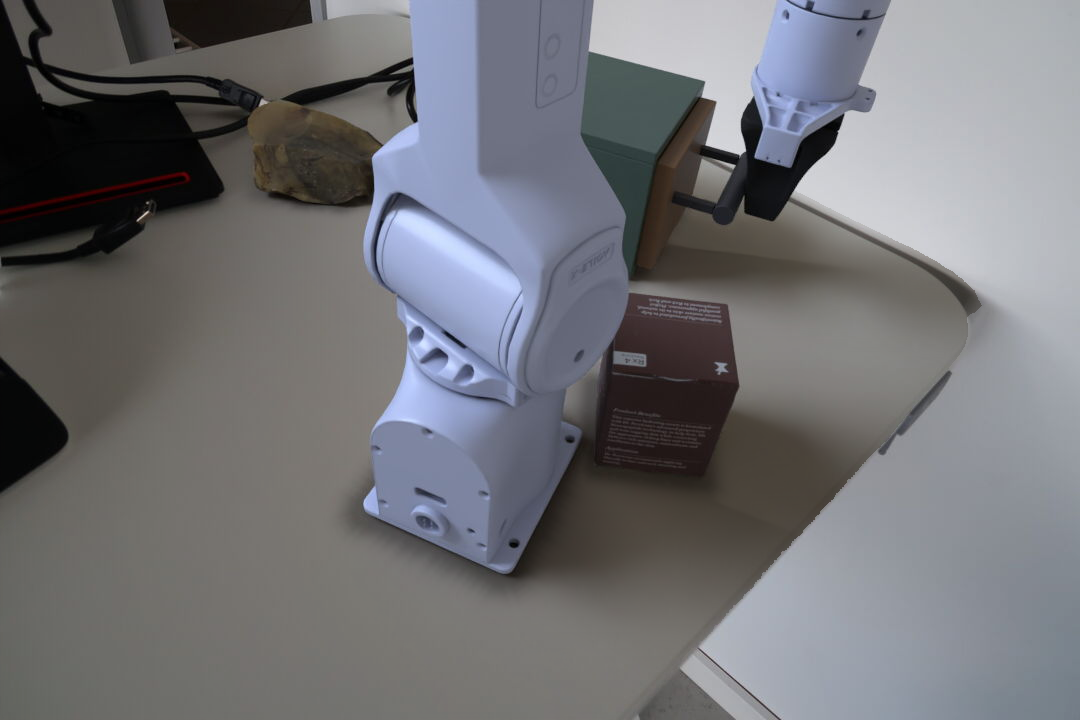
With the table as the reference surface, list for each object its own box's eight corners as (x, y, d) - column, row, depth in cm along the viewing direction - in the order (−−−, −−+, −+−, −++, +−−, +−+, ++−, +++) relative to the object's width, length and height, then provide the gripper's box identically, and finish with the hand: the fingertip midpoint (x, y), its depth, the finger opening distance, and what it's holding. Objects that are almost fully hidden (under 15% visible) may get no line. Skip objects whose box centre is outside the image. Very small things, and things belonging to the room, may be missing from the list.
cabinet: (676, 199, 58) (705, 80, 51) (629, 280, 50) (656, 153, 43) (520, 152, 61) (528, 35, 54) (453, 222, 53) (452, 95, 47)
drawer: (743, 212, 56) (775, 116, 50) (710, 289, 49) (742, 187, 43) (543, 153, 59) (552, 57, 54) (485, 216, 53) (489, 114, 47)
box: (698, 398, 43) (732, 302, 38) (705, 482, 39) (743, 387, 33) (595, 384, 43) (614, 287, 38) (589, 467, 39) (610, 370, 33)
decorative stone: (402, 151, 60) (399, 110, 57) (365, 214, 53) (361, 170, 51) (277, 132, 60) (269, 91, 58) (225, 192, 54) (214, 148, 51)
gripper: (898, 65, 34) (802, 291, 44) (917, -22, 44) (835, 179, 53) (748, 30, 36) (687, 255, 45) (799, -46, 45) (740, 153, 55)
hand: (760, 212), depth 49 cm, fingers closed, pressing on drawer
